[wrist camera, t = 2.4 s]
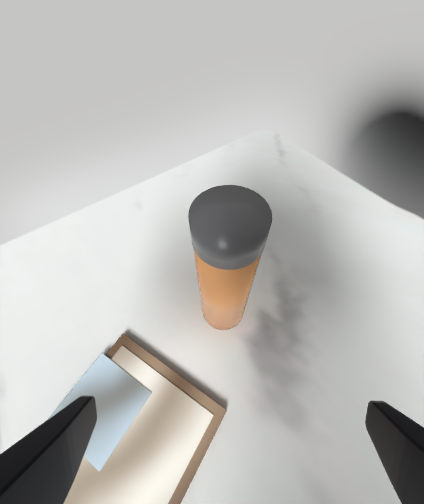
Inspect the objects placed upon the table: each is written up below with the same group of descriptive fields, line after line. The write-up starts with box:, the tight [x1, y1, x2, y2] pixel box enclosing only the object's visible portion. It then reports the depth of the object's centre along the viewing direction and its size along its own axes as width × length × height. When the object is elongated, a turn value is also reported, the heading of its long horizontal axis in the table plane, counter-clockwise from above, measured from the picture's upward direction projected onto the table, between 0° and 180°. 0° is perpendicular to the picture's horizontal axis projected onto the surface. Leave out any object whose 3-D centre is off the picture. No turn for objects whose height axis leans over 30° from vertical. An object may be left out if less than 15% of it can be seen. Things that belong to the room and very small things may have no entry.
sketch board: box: [48, 334, 227, 504], centre depth 17 cm, size 11×16×1 cm
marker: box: [188, 185, 272, 330], centre depth 18 cm, size 4×4×14 cm
